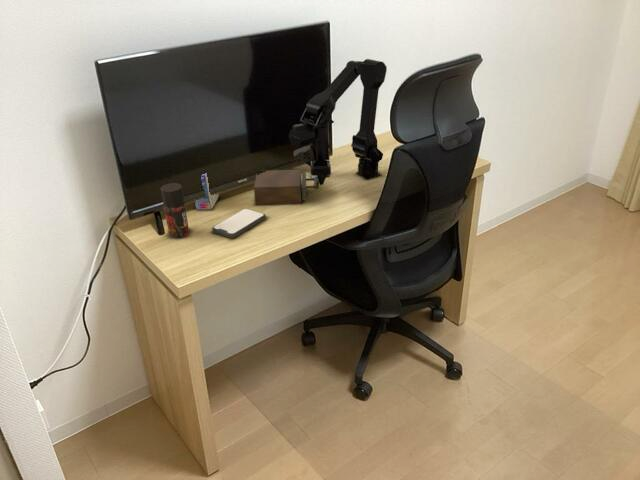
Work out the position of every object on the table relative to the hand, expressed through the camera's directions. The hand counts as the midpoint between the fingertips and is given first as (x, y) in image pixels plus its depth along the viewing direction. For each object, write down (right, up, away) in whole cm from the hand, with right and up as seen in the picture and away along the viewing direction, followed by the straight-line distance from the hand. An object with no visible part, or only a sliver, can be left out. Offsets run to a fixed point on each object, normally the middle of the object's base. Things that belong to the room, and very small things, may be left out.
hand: (321, 184), depth 190 cm
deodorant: (-42, -16, -19) cm, 49 cm away
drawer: (-10, -3, +1) cm, 10 cm away
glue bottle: (-1, +4, +15) cm, 15 cm away
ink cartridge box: (-37, -6, -1) cm, 38 cm away
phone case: (-25, -14, -15) cm, 32 cm away
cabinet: (-14, -3, +2) cm, 15 cm away
